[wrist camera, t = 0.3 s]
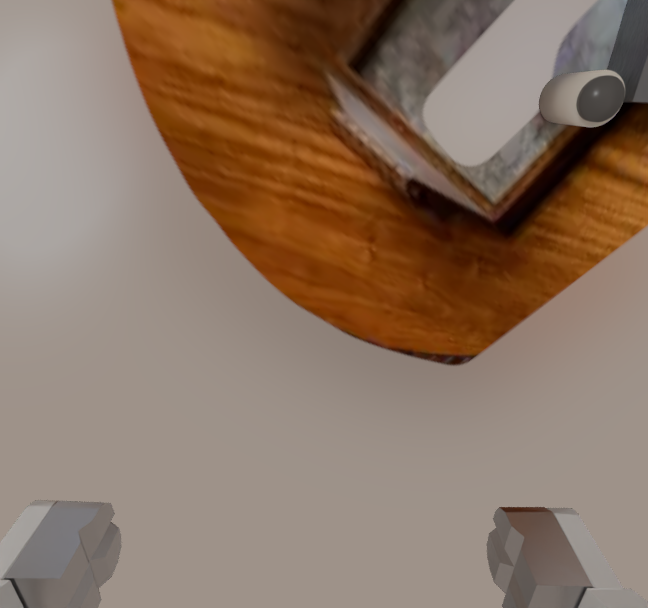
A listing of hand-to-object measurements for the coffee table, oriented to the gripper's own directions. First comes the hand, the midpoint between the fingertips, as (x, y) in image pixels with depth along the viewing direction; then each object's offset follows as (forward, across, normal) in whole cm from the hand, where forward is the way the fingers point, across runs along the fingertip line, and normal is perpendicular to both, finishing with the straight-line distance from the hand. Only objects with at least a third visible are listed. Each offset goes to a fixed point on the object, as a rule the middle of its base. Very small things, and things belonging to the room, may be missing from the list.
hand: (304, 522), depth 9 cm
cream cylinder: (+47, -26, -8) cm, 54 cm away
